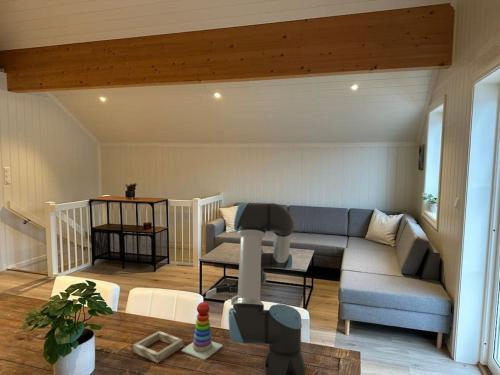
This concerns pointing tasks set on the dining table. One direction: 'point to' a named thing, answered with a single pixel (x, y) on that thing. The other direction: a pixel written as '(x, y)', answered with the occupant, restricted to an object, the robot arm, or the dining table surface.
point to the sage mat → (201, 354)
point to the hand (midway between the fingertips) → (218, 298)
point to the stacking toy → (202, 329)
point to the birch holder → (158, 356)
